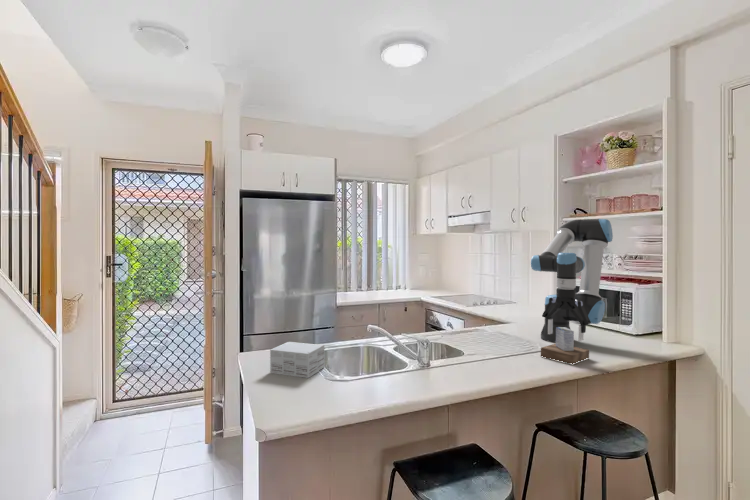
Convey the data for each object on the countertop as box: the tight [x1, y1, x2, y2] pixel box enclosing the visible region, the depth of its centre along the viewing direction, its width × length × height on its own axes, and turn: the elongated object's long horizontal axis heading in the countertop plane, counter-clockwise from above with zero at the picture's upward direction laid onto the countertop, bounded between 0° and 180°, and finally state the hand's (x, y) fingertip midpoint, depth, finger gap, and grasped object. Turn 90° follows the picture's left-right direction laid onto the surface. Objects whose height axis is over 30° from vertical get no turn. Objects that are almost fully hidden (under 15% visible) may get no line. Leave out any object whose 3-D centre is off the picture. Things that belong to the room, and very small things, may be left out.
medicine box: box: [555, 327, 575, 351], centre depth 172 cm, size 8×4×9 cm, turn 178°
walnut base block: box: [540, 343, 590, 364], centre depth 172 cm, size 14×14×4 cm
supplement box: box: [269, 341, 326, 379], centre depth 154 cm, size 17×13×9 cm
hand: (565, 337), depth 172 cm, fingers open, 13 cm apart
